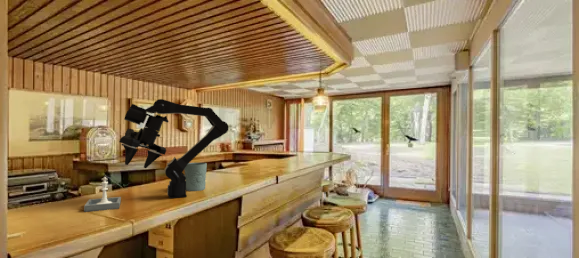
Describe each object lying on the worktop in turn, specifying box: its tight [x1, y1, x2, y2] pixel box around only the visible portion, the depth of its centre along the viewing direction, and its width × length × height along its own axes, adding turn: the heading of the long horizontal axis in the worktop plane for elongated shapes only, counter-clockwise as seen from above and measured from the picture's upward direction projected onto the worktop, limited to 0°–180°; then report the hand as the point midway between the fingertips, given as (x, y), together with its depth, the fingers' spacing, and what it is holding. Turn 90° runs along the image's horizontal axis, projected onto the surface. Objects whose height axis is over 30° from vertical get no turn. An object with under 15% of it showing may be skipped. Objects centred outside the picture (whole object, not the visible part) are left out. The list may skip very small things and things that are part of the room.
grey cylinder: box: [183, 162, 208, 192], centre depth 132 cm, size 10×10×12 cm
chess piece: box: [97, 176, 112, 204], centre depth 99 cm, size 5×5×10 cm
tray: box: [83, 196, 122, 213], centre depth 99 cm, size 10×10×2 cm
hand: (135, 166), depth 110 cm, fingers open, 9 cm apart
